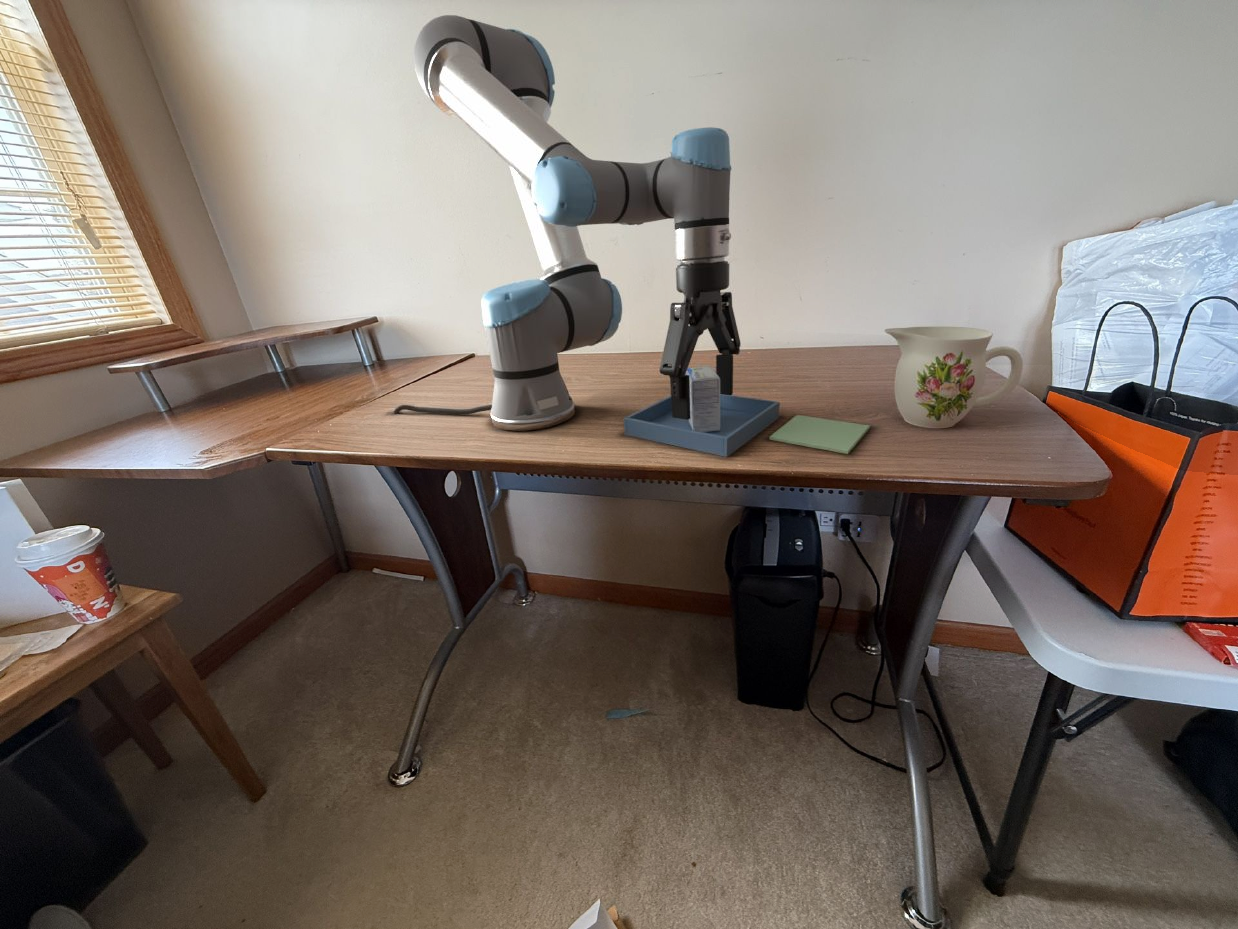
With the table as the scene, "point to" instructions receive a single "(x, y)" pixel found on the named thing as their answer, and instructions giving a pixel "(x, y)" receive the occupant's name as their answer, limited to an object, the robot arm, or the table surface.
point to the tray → (736, 428)
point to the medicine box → (704, 399)
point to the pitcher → (946, 373)
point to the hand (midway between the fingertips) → (704, 405)
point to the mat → (821, 433)
